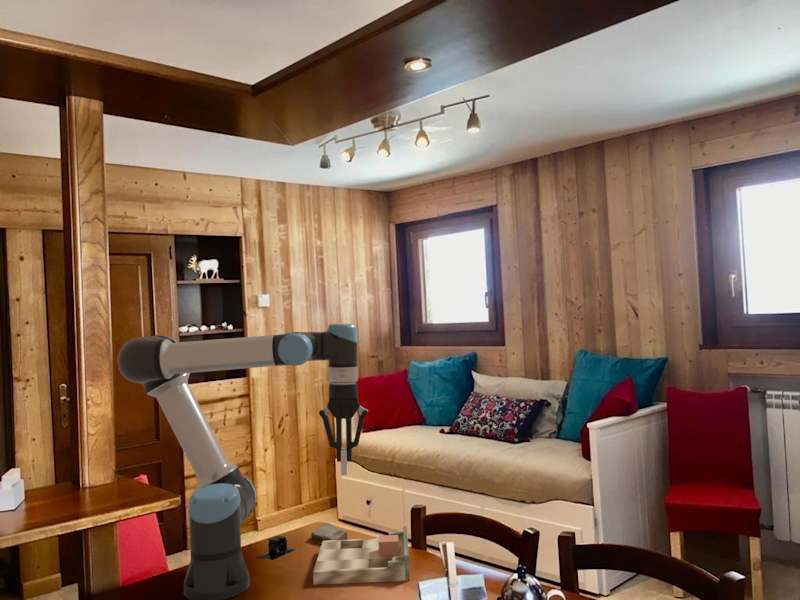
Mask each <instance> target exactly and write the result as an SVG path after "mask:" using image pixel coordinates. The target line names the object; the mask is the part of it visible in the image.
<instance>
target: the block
mask: <svg viewBox="0 0 800 600" xmlns="http://www.w3.org/2000/svg"><path fill="white" fill-rule="evenodd" d="M378 538H379V556H397V555H399V546H398V535H389V534H388V535H378Z"/></svg>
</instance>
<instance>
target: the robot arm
mask: <svg viewBox="0 0 800 600" xmlns="http://www.w3.org/2000/svg"><path fill="white" fill-rule="evenodd" d="M357 334H358V331H357V326H356V325H355V324H353V323H336V324H335V323H334V324H333V323H332V324H329V325H328V327H327V331H291V332H284V333H283V334H271V335H258V336H257V335H256V336H245V337H231V338H220V339H205V340H194V341H193V340H192V341H180V342H178V341H177V340H176V339H174V338H172V337H169V336H166V335H161V334H160V335H159V334H158V335H151V336H139V337H135V338H132V339H130V340H128V341H127V342H125V344H123V345H122V347H121V348H120V350H119V352H118V354H117V368H118V370H119V373H120V374H121V375H122V376H123V378H125V380H127V381H129V382H132V383H135V384H140V385H142V387H143V389H144V391H145V392H146V394H147V396H151V397H154V398H156V400H157V402H158V405H160V408H161V410H162V412H163V414H164V416H165V417H166V420H167V421H168V422H167V423H169V425H170V427H171V429H172V431H173V433H174V435H175V437H176V438H177V441H178V444H179V445H180V447H181V448H182V451H183V453H184V454H185V456H186V458H187V460H188V462H189V464H190V466H191V468H192V471H193V473H194V474H195V476H196V479H197V484H196V487H195V491H193V493H192V494H191V495H190V498H189V505H188V515H189V542H190V543H189V545H190V560H189V564H188V568H187V571H186V574H185V578H184V581H183V595H184V597H185V598H186V599H188V600H227V599H231V598H234V597H236V596H239V595H240V594H243V593H244V592H245V591H247V590H248V588H249V587H250V585H251V584H250V582H251V581H250V573H249V571H248V567H247V564H246V561H245V560H244V556H243V554H242V540H241V539H242V535H241V529H242V527H241V526H242V524H243V523H244V522H245V521H246V520H247V519H248V518H249V517H250V516H251V514H252V513H253V511H254V509H255V505H256V502H257V492H256V488H255V486H254V484H253V482H252V481H251V480H250V479H249V478H247V476H246V477H245V476H244V475H243V474H242V471H240V469H239V467H238V465H237V464H234V463H233V464H232V463H230V462H229V460H228V458H227V456H226V454H225V452H224V451H223V449H222V446H221V445H220V443H219V440H218V439H217V437H216V434H215V433H214V431H213V428H212V427H211V424H210V423H209V422H208V421H209V420H208V419H207V417H206V416H205V414H204V411H203V410H202V408H201V406H200V404H199V402H198V400H197V398H196V396H195V394H194V392H193V390H192V388H191V386H190V385H189V378H190V375H191V373H192V374H193V373H205V372H217V371H229V370H231V371H232V370H241V369H252V368H265V367H266V368H267V367H277V366H279V367H280V366H293V367H295V366H302V365H305V363H307V362H312V361H314V362H315V361H328V382H329V383H330V384H329V385H328V402H327V404H326V406H325V407H324V408H323V409H322V408H321V409H320V410H319V411H318V415H319V416H320V417H321V419H322V421H323V425H324V429H325V433H326V438H327V441H328V445H329V447H330V448H334V449H335V450H336V461H337V462H338V463H340V475H341V476H348V474H349V471H348V470H349V469H348V468H349V462H351V461H352V459H353V453H352V452H353V450H352V449H353V448H356V447H358V445H359V443H360V438H361V435H362V430H363V425H364V421H365V417H366V416H367V415H368V413H369V409H368V408H364V407H363V406H361V403H360V401H359V388H358V387H359V384H358V383H357V382H358V380H359V375H358V374H359V373H358V369H359V368H358V335H357ZM357 411H358V415H359V418H358V423H357V427H356V431H355V434H354V435H355V436H354V439H353V438H352V436H353V435H352V430H353V429H352V428H353V427H352V420H353V419H352V418H353V417H354V416H355V414H356V413H357ZM330 413H331V414H332V416H333V418H335V431H336V433H335V434H336V435H335V436H336V438H334V433H333V429H332V426H331V421H330V418H329V414H330ZM343 420H345V429H346V430H345V436H346V437H345V439H346V440H345V441H346V442H345V445H346V447H343V444H342V443H343V441H342V440H343V424H342V423H343ZM335 439H336V440H335ZM352 439H353V440H352Z"/></svg>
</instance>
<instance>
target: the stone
mask: <svg viewBox="0 0 800 600" xmlns="http://www.w3.org/2000/svg"><path fill="white" fill-rule="evenodd" d="M310 535H311V536H310V540H311V541H312V542H314V543H316V544H318V543H319V544H318V545H320V544H322V542H323V541H327V540H349V539H348V532H347V531H346V530H345V529H343V528H339V527H337V526H336V525H334V524H331V523H329V522H323V523H322V524H321V525H320V526H319V527H317V528H315V529H314V530H313V531H312V532H311V534H310Z"/></svg>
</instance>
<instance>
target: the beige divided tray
mask: <svg viewBox="0 0 800 600" xmlns="http://www.w3.org/2000/svg"><path fill="white" fill-rule="evenodd" d="M388 535H398V546H399V555H397V556H379V537H378V538H377V537H376V538H356V539H355V538H354V539H347V540H327V541H323V542H322V545H321V546H320V549H319V551H318V552H319V553H318V556H317V558H316V562H315V566H314V568H313V572H312V573H313V575H312V576H313V578H312V579H313V580H312V581H313V586H314V585H335V584H338V585H340V584H357V583H358V584H359V583H360V584H361V583H362V584H363V583H379V582H380V583H381V582H382V583H384V582H409V581H408V580H411V579H410V554H409V552H410V551H409V539H408V527H407V526H406V525H404V526H402V531H393V532H392V531H389V532H388Z"/></svg>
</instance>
